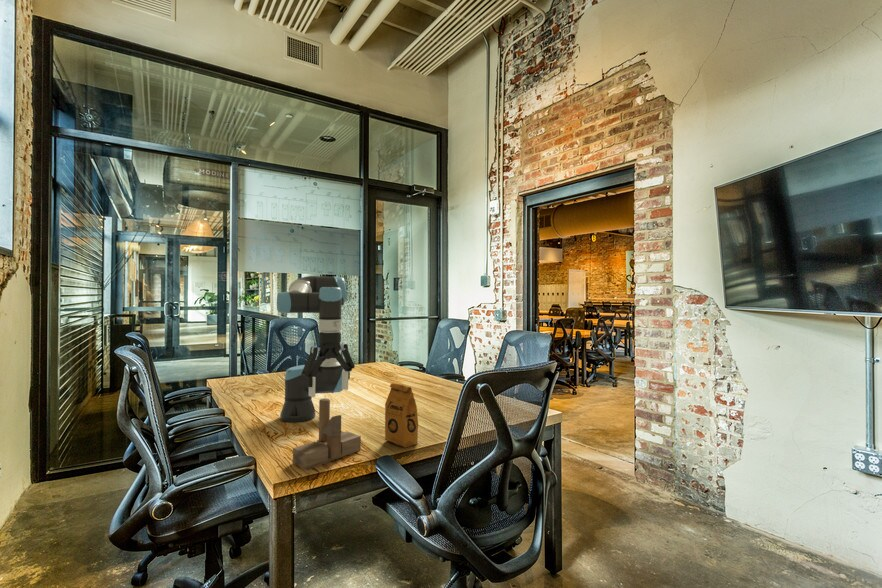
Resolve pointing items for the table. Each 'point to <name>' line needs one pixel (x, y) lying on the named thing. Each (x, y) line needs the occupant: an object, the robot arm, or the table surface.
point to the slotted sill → (324, 451)
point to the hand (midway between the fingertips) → (329, 392)
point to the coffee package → (401, 416)
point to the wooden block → (329, 429)
